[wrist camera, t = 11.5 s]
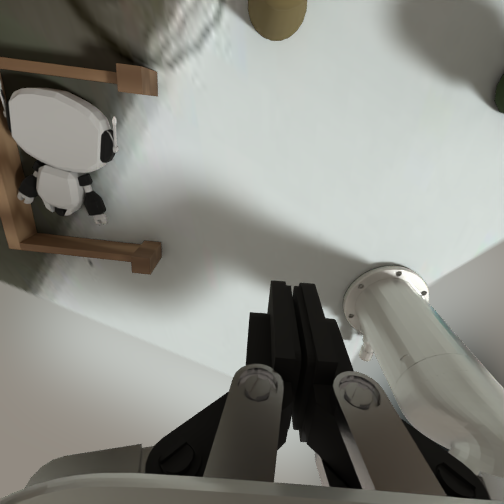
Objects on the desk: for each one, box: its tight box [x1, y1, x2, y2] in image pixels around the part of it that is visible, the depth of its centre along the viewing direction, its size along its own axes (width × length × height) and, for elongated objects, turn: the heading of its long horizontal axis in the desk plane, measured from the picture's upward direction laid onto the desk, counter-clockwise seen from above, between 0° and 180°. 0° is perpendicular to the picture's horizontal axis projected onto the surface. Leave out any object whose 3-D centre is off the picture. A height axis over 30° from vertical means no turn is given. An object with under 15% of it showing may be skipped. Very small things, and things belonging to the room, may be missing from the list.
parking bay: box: [0, 57, 162, 275], centre depth 35 cm, size 23×19×5 cm
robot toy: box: [0, 82, 118, 225], centre depth 35 cm, size 12×4×15 cm
